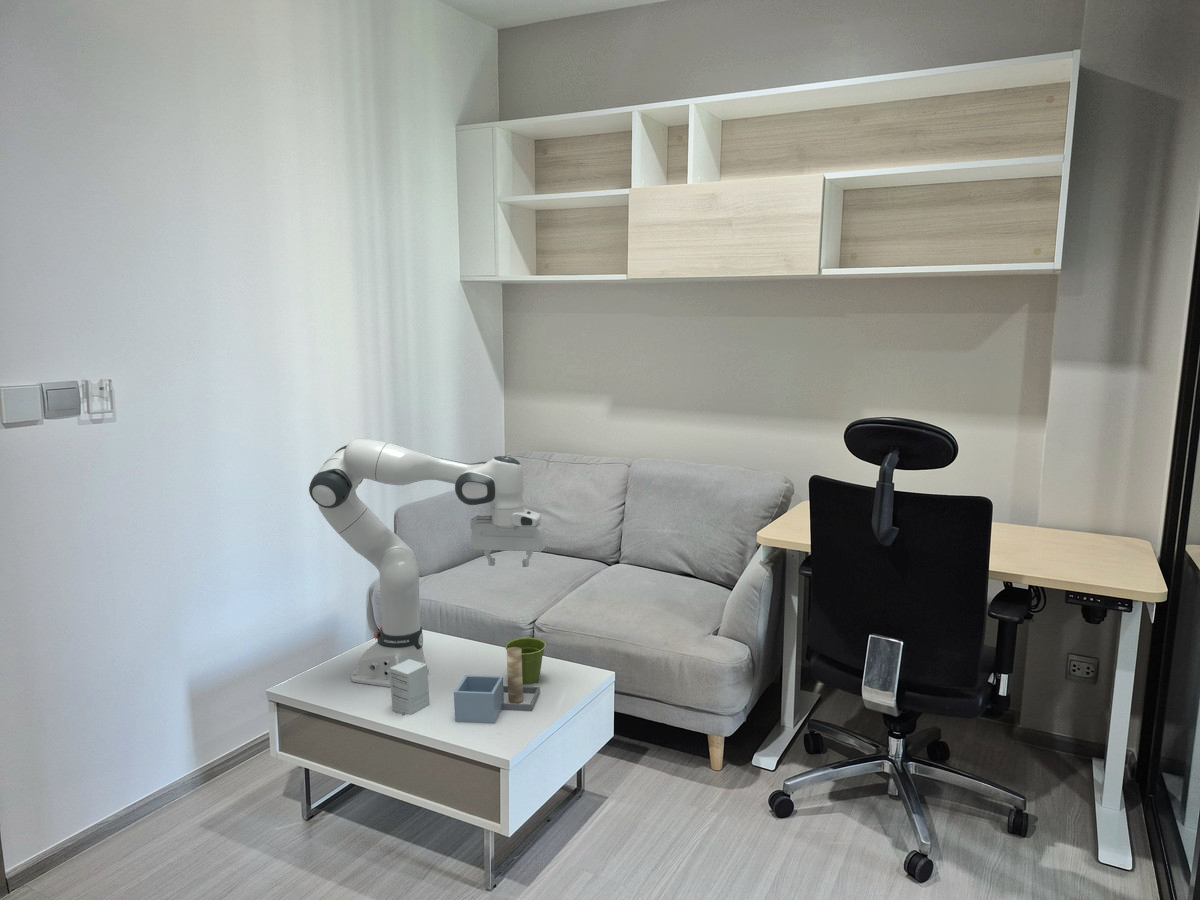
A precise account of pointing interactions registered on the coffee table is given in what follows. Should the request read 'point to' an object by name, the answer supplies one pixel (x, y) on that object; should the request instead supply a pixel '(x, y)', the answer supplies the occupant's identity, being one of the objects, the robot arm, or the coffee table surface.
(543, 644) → the plant pot
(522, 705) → the tray
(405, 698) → the supplement box
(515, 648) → the dowel
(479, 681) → the blue storage bin
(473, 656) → the coffee table surface
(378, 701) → the coffee table surface
